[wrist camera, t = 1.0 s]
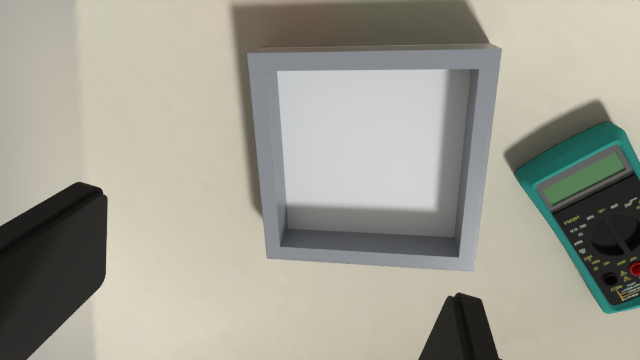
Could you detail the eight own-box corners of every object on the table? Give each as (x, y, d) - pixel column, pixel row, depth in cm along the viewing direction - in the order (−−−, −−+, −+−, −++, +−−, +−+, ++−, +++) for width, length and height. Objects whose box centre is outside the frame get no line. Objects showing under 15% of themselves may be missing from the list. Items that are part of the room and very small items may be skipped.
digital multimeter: (596, 302, 36) (612, 326, 34) (508, 167, 33) (519, 182, 31) (690, 264, 34) (715, 287, 31) (604, 114, 31) (625, 125, 28)
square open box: (490, 43, 30) (501, 49, 26) (466, 246, 36) (473, 271, 33) (262, 47, 32) (246, 53, 29) (277, 236, 39) (266, 258, 35)
